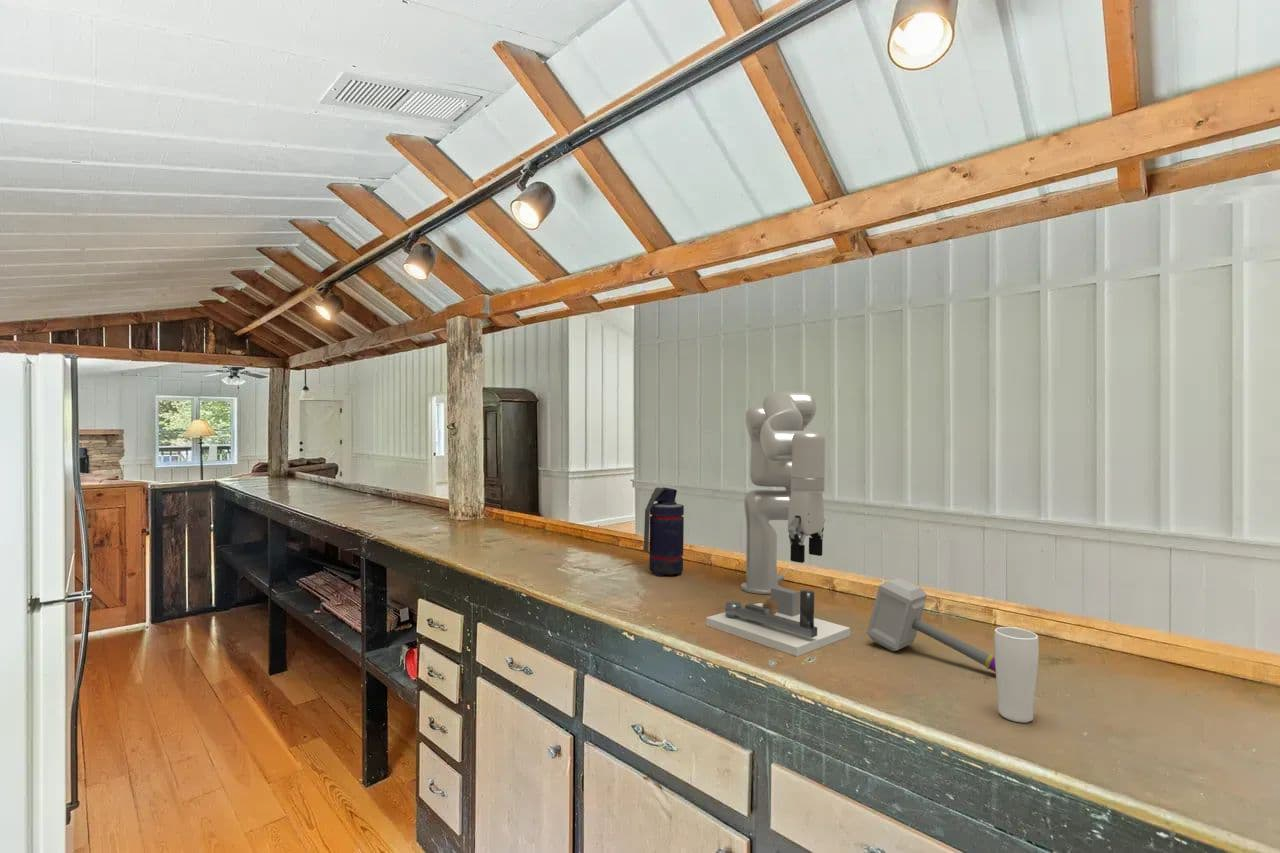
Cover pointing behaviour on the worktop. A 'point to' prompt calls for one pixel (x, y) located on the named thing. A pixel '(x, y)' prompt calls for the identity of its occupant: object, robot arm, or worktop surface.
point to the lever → (763, 616)
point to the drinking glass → (1016, 672)
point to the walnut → (771, 606)
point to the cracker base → (777, 636)
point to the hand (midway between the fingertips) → (806, 558)
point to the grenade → (664, 532)
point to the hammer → (911, 621)
